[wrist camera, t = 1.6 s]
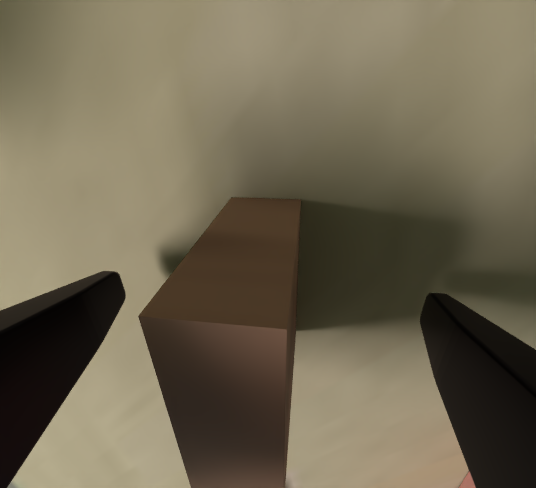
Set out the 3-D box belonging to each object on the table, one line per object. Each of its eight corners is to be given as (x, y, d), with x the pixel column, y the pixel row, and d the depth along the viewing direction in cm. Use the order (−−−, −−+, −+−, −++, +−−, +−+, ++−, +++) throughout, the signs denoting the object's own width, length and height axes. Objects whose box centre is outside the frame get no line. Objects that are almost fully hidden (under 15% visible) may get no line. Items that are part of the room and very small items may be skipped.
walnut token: (295, 330, 10) (283, 506, 6) (242, 325, 10) (192, 490, 6) (301, 199, 8) (287, 329, 4) (231, 197, 8) (137, 316, 4)
